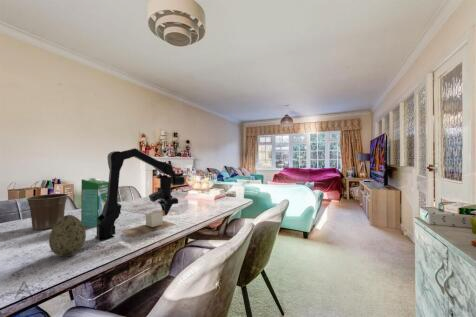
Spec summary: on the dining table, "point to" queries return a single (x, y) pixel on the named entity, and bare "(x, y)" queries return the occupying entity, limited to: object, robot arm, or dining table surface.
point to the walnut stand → (146, 229)
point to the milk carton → (92, 200)
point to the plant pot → (46, 210)
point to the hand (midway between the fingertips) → (165, 214)
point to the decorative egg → (67, 236)
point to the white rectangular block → (154, 218)
